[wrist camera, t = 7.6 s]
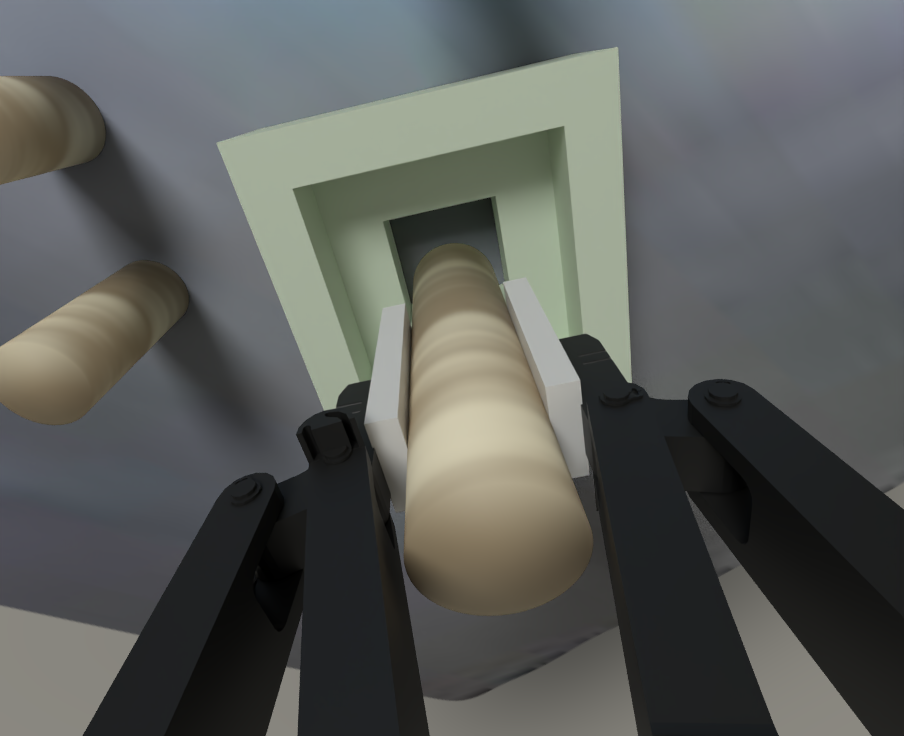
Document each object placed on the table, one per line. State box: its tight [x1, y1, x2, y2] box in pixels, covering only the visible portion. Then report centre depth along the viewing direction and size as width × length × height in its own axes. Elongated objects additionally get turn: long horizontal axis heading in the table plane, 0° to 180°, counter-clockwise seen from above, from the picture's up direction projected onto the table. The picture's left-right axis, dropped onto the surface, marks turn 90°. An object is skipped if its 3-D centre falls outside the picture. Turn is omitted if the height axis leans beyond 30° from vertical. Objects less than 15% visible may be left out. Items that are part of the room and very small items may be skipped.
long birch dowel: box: [404, 243, 593, 616], centre depth 15 cm, size 3×3×14 cm
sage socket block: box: [217, 47, 632, 411], centre depth 23 cm, size 14×14×6 cm
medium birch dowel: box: [0, 260, 189, 425], centre depth 22 cm, size 3×3×9 cm
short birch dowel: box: [0, 76, 106, 185], centre depth 20 cm, size 3×3×6 cm
